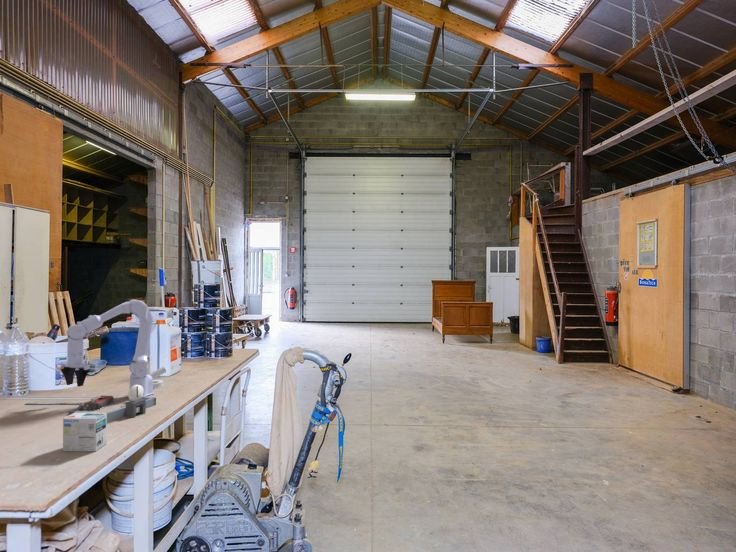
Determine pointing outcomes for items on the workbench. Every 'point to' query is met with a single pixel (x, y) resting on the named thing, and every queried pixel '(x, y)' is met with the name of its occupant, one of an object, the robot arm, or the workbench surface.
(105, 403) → the walkie-talkie
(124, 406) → the gauge plunger
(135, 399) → the centring jig
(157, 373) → the wall hook
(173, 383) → the workbench surface
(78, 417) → the light bulb box
